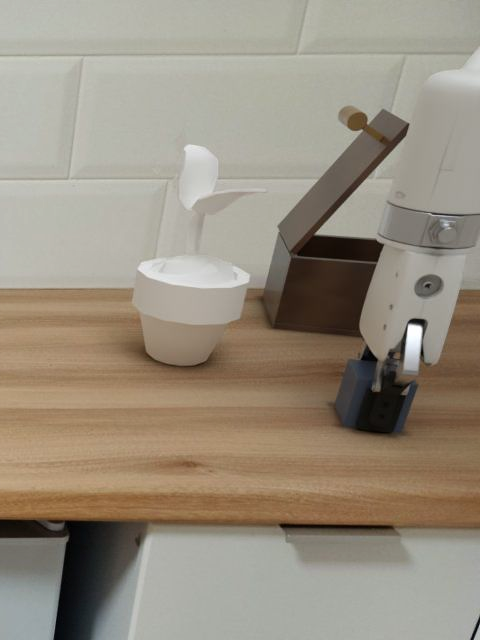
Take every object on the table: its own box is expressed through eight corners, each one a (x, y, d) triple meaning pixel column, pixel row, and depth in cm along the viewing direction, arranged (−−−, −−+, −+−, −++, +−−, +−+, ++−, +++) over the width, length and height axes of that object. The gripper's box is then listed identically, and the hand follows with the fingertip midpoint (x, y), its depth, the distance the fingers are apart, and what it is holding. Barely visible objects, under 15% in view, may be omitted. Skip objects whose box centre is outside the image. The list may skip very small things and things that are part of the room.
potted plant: (101, 345, 103) (137, 114, 90) (184, 334, 106) (230, 109, 94) (172, 387, 93) (224, 132, 80) (261, 372, 96) (324, 126, 84)
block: (389, 411, 87) (405, 364, 85) (401, 433, 83) (418, 384, 81) (334, 405, 89) (348, 358, 86) (342, 426, 85) (358, 378, 82)
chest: (392, 309, 114) (414, 241, 110) (416, 342, 104) (441, 268, 100) (262, 297, 118) (278, 231, 114) (272, 329, 108) (291, 257, 104)
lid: (388, 112, 105) (352, 86, 105) (414, 127, 94) (374, 99, 94) (281, 229, 114) (248, 206, 114) (294, 255, 103) (258, 229, 103)
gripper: (512, 256, 69) (434, 462, 78) (450, 208, 83) (391, 387, 92) (404, 248, 71) (340, 450, 80) (362, 203, 85) (312, 379, 94)
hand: (368, 415), depth 86 cm, fingers closed on block, 5 cm apart
